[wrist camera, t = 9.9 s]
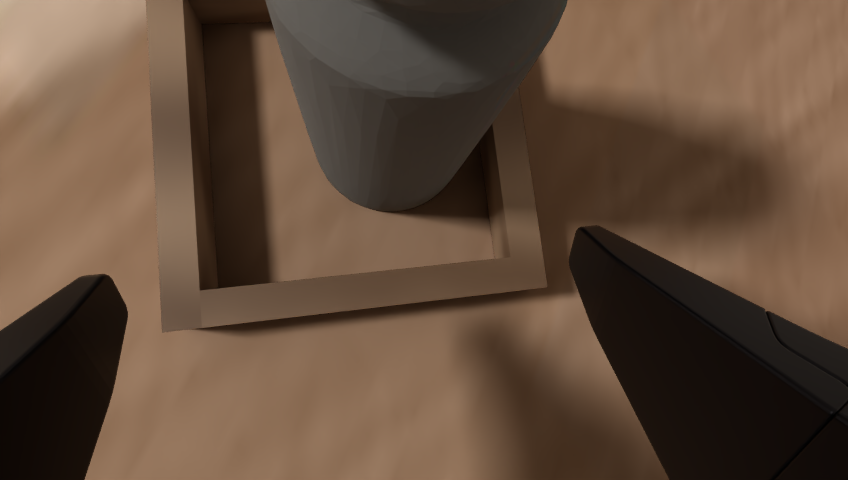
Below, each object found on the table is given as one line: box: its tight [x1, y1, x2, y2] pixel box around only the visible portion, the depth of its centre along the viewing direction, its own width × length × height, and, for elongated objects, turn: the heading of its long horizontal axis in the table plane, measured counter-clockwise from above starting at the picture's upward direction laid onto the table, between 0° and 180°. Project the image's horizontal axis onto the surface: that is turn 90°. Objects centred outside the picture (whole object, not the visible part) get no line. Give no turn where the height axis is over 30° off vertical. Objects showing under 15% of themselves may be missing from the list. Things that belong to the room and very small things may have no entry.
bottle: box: [265, 0, 567, 211], centre depth 11 cm, size 6×6×15 cm
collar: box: [146, 0, 547, 333], centre depth 17 cm, size 13×13×2 cm
